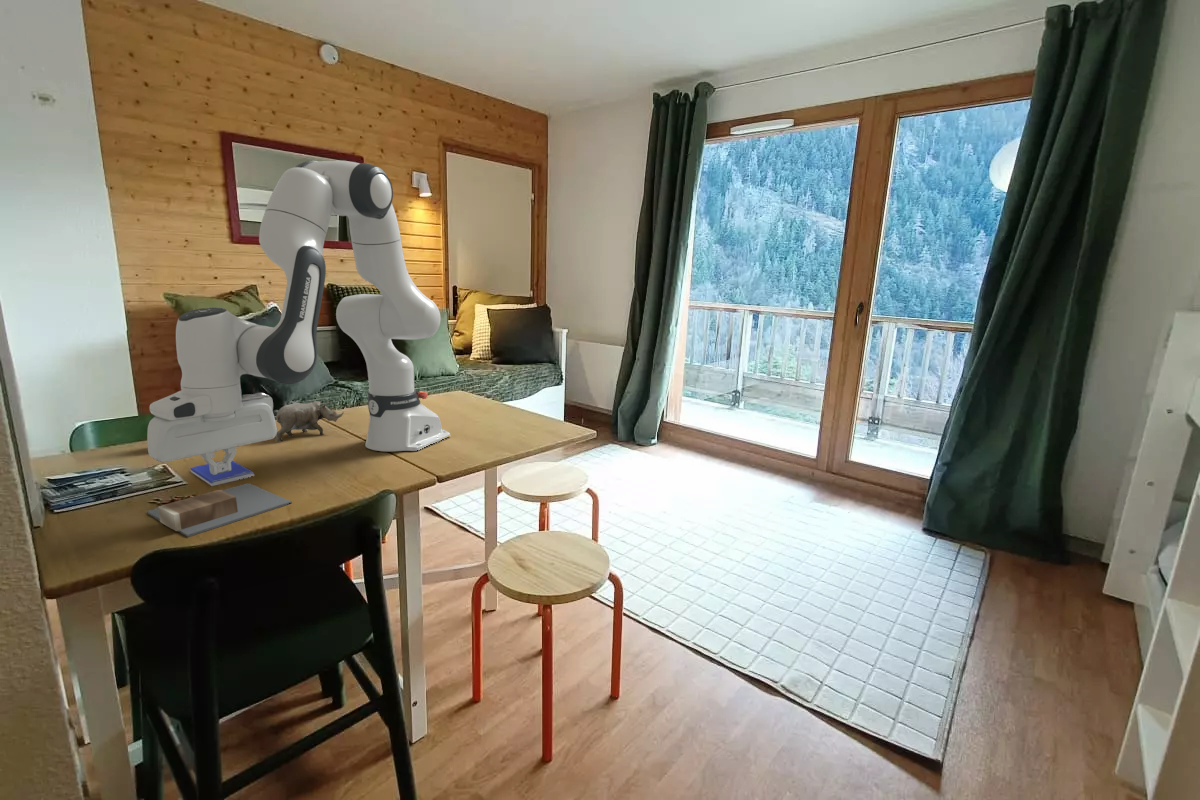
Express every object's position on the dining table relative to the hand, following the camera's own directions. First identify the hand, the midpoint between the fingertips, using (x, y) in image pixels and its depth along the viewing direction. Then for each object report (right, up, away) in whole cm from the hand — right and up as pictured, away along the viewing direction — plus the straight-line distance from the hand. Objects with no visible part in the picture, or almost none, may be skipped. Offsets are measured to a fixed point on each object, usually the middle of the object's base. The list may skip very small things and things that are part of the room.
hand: (220, 472), depth 105 cm
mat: (-2, -7, +3) cm, 8 cm away
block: (0, -6, +2) cm, 6 cm away
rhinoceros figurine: (-10, +4, +50) cm, 51 cm away
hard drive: (-13, -4, +20) cm, 24 cm away
